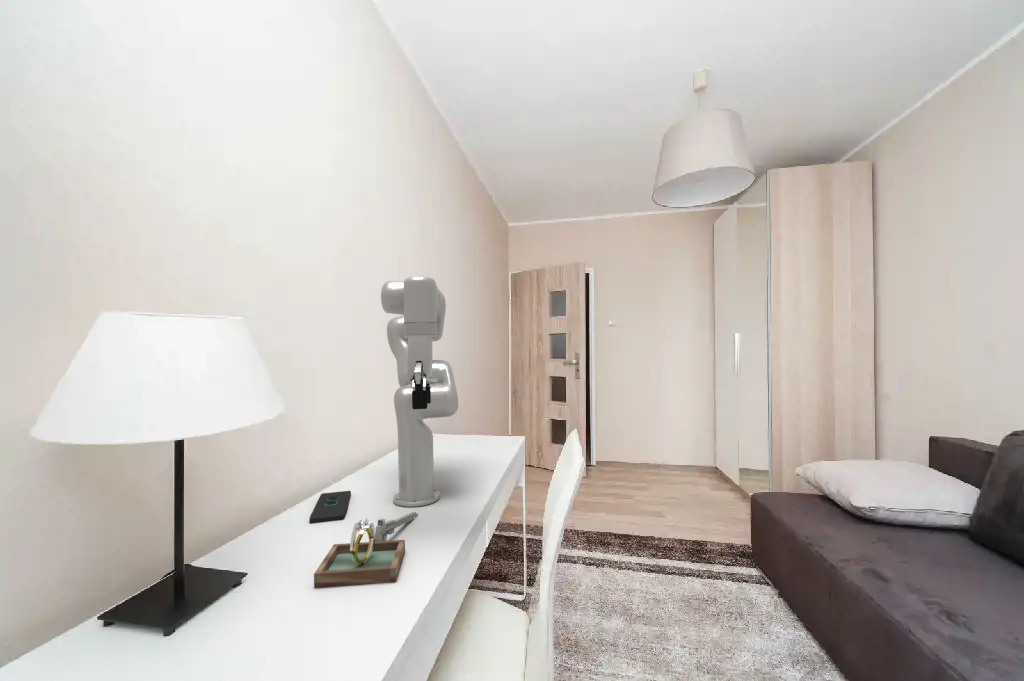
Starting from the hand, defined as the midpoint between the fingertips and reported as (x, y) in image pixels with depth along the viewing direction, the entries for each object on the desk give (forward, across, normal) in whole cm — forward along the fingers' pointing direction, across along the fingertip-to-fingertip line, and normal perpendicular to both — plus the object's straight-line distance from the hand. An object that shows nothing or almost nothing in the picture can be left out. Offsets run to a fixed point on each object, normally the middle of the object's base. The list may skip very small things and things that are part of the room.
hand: (422, 406), depth 102 cm
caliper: (+29, 0, -6) cm, 29 cm away
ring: (+28, +16, -10) cm, 33 cm away
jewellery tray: (+28, +16, -10) cm, 34 cm away
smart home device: (+29, -19, -26) cm, 43 cm away
